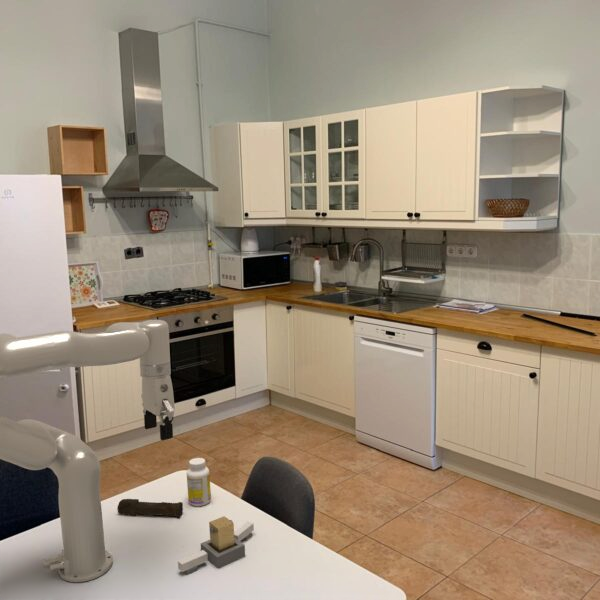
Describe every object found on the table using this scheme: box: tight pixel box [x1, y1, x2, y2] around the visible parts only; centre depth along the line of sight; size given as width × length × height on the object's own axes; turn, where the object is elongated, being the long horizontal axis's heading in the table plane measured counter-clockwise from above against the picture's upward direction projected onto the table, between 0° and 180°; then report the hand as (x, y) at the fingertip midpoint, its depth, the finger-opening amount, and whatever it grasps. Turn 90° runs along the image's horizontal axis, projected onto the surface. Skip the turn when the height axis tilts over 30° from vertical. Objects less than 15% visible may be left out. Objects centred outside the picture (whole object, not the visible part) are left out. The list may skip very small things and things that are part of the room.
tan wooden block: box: [208, 515, 235, 553], centre depth 158 cm, size 4×6×9 cm
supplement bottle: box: [186, 457, 212, 507], centre depth 186 cm, size 7×7×13 cm
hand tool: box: [117, 498, 184, 519], centre depth 180 cm, size 19×4×5 cm, turn 81°
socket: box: [177, 521, 255, 575], centre depth 159 cm, size 9×24×3 cm, turn 129°
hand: (158, 433), depth 163 cm, fingers open, 9 cm apart
